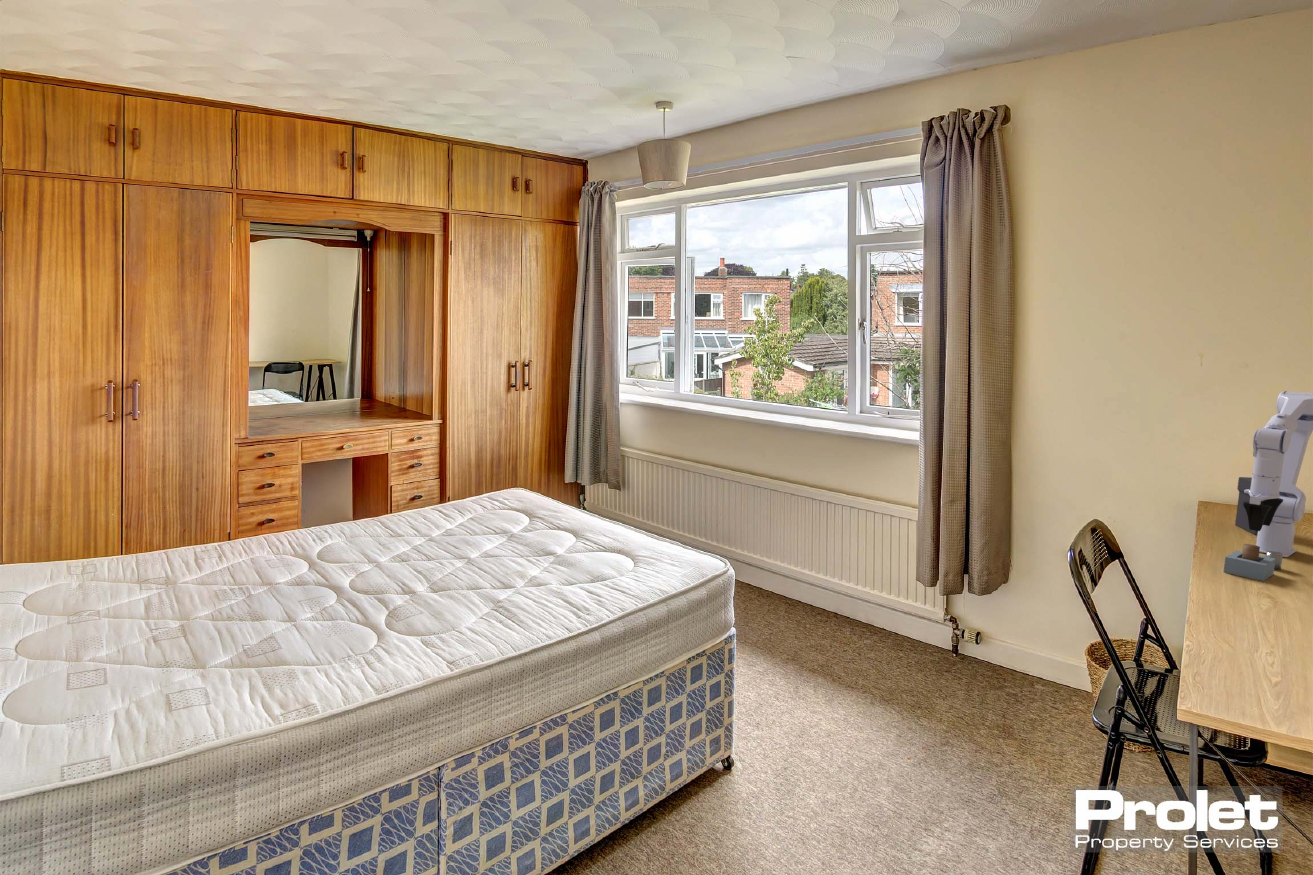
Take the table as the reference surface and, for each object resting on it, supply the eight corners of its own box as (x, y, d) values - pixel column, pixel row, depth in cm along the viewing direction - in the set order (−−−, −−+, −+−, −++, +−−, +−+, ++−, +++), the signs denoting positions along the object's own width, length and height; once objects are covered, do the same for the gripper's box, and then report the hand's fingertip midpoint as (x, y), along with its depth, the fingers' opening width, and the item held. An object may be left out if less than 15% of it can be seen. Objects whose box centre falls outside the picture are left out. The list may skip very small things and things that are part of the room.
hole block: (1234, 565, 191) (1236, 550, 190) (1273, 574, 185) (1275, 558, 184) (1223, 572, 186) (1225, 556, 186) (1263, 581, 180) (1265, 565, 179)
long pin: (1242, 570, 188) (1246, 543, 187) (1258, 573, 185) (1261, 546, 184) (1237, 572, 186) (1241, 545, 185) (1253, 576, 183) (1257, 548, 182)
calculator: (1269, 536, 216) (1276, 485, 214) (1252, 535, 217) (1259, 484, 215) (1248, 525, 227) (1254, 477, 225) (1232, 524, 228) (1238, 476, 225)
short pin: (1266, 565, 192) (1268, 550, 191) (1282, 568, 189) (1284, 553, 188) (1262, 567, 190) (1264, 552, 189) (1278, 571, 187) (1280, 555, 186)
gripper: (1256, 469, 197) (1249, 519, 199) (1237, 476, 188) (1231, 528, 191) (1290, 473, 192) (1283, 525, 194) (1273, 481, 183) (1265, 535, 185)
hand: (1259, 527), depth 192 cm, fingers open, 7 cm apart
